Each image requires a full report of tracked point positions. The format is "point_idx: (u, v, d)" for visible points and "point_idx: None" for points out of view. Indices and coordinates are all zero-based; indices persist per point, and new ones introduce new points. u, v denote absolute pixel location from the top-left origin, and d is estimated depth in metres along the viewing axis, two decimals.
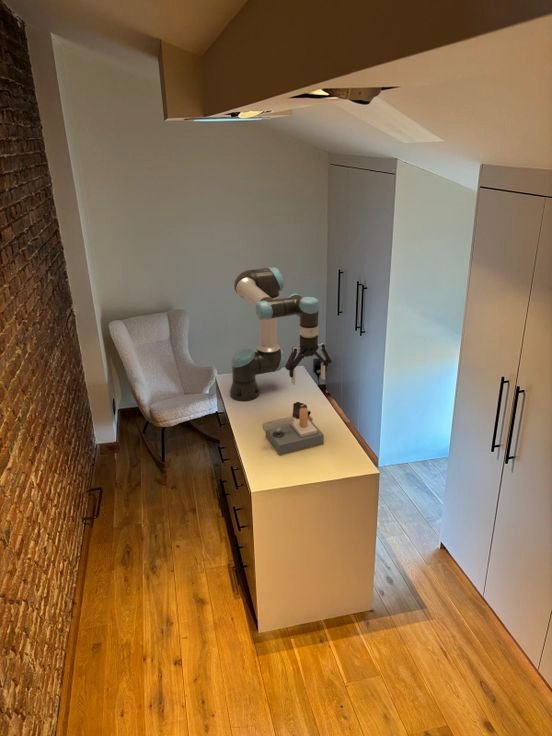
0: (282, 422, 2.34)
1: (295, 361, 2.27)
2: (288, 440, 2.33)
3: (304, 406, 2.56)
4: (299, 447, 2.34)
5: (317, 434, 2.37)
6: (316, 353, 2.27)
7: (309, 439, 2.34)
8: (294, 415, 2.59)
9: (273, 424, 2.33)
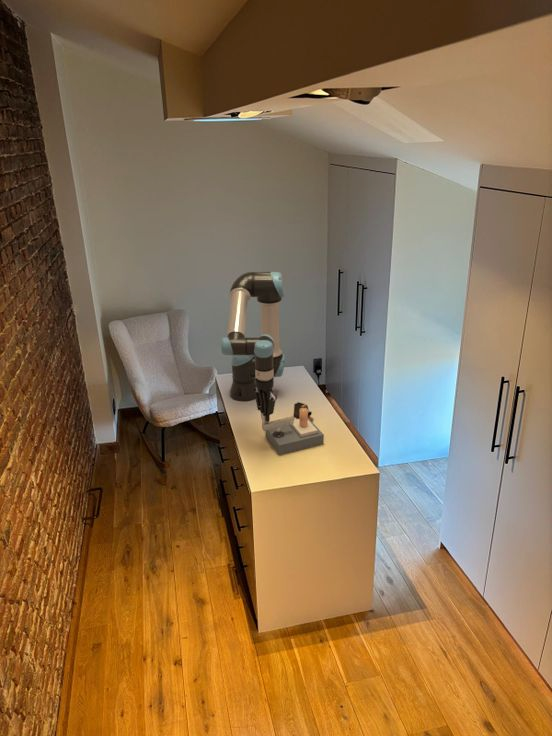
0: (282, 422, 2.34)
1: None
2: (288, 440, 2.33)
3: (305, 406, 2.55)
4: (299, 447, 2.34)
5: (317, 434, 2.37)
6: (263, 398, 2.27)
7: (309, 439, 2.34)
8: (295, 415, 2.59)
9: (273, 424, 2.33)
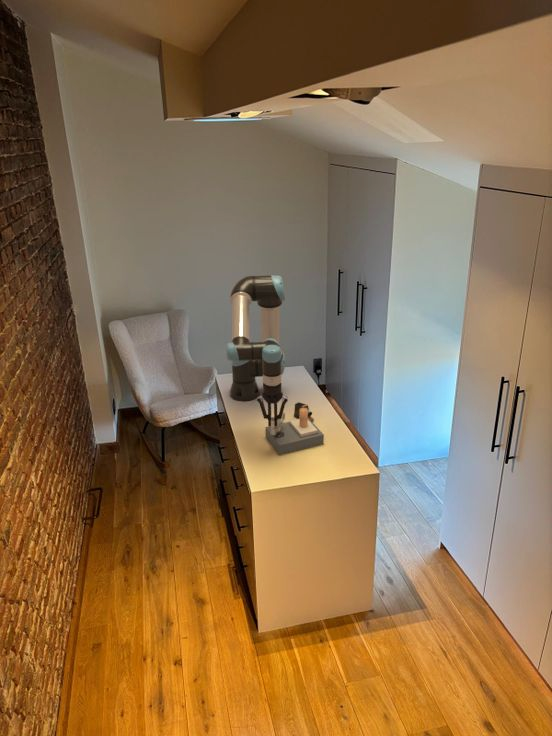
0: (281, 420, 2.36)
1: (268, 410, 2.26)
2: (288, 440, 2.33)
3: (305, 407, 2.55)
4: (299, 447, 2.34)
5: (317, 434, 2.37)
6: (275, 403, 2.23)
7: (309, 439, 2.34)
8: (295, 416, 2.59)
9: (278, 425, 2.32)
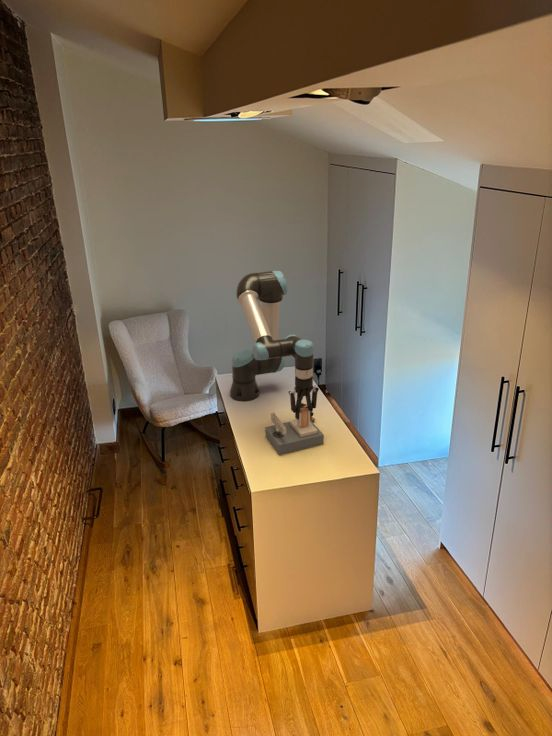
0: None
1: (297, 404, 2.34)
2: (288, 440, 2.33)
3: (307, 407, 2.55)
4: (299, 447, 2.34)
5: (317, 434, 2.37)
6: (309, 395, 2.33)
7: (309, 439, 2.34)
8: None
9: None
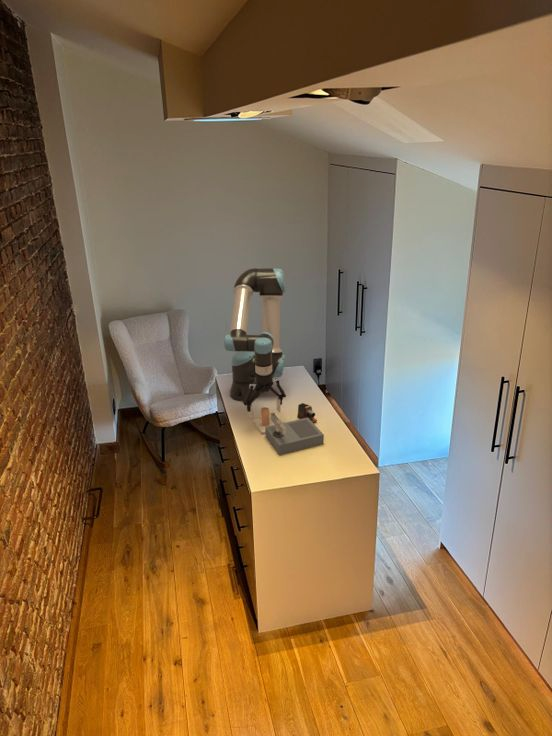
0: None
1: (252, 397, 2.43)
2: (288, 440, 2.33)
3: (309, 408, 2.54)
4: (299, 447, 2.34)
5: (317, 434, 2.37)
6: (271, 389, 2.44)
7: (309, 439, 2.34)
8: (299, 416, 2.58)
9: None
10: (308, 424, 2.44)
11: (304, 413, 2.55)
